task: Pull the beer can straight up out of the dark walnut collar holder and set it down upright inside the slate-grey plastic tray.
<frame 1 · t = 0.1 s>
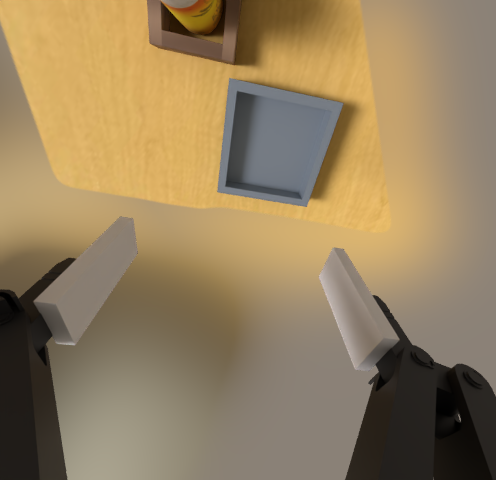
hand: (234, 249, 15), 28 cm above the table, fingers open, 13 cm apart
collar holder: (199, 3, 28), on the table
tray: (271, 147, 37), on the table
beer can: (199, 4, 28), resting in collar holder
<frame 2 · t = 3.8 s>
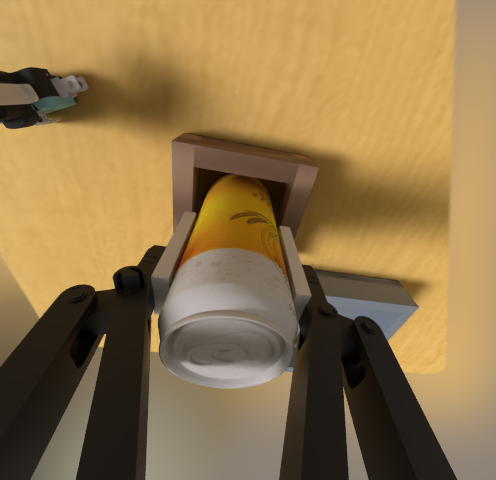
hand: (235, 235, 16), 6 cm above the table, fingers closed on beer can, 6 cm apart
collar holder: (238, 202, 21), on the table
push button: (54, 97, 17), on the table
tray: (314, 314, 31), on the table
beer can: (238, 201, 21), resting in collar holder, touching gripper
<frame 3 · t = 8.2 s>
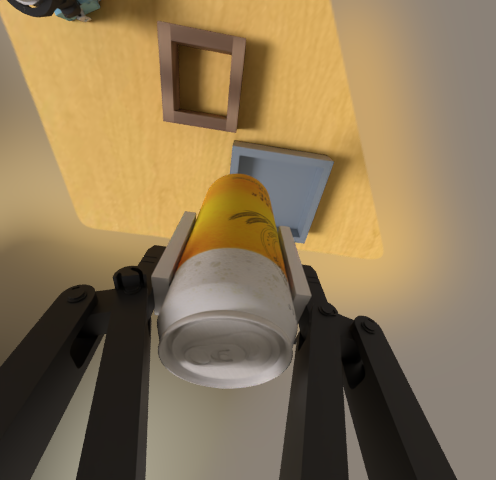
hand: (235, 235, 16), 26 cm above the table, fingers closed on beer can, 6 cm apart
collar holder: (205, 83, 32), on the table
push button: (86, 3, 27), on the table
tray: (271, 192, 41), on the table
beer can: (238, 201, 21), point 20 cm above the table, touching gripper
when the fingers open (8 cm above the table, at t = 12.4 s): beer can stays where it is, resting on tray.
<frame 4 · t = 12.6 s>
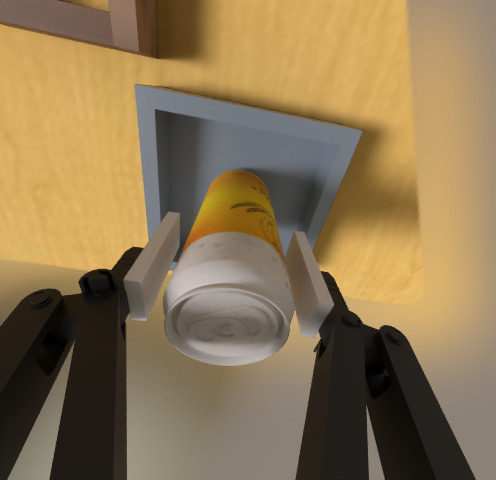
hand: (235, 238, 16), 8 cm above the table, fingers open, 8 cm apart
tray: (239, 194, 23), on the table
beer can: (238, 197, 22), point 1 cm above the table, touching tray
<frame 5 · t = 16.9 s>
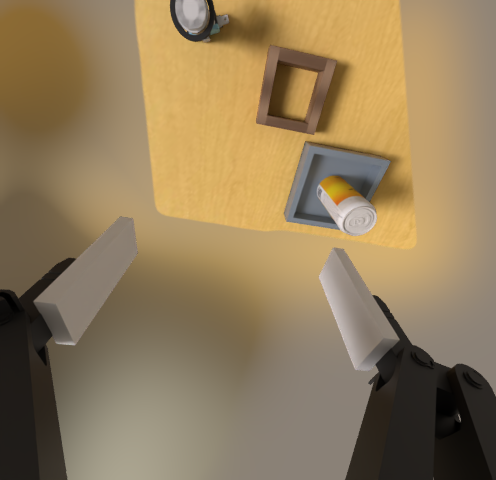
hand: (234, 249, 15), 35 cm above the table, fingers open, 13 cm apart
collar holder: (290, 94, 39), on the table
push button: (208, 28, 34), on the table
tray: (328, 186, 48), on the table
beer can: (329, 187, 48), point 1 cm above the table, touching tray
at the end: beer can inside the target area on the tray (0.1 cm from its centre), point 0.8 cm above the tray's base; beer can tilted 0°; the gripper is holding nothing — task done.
